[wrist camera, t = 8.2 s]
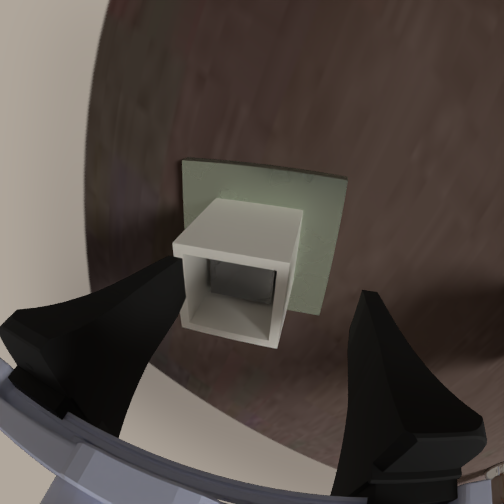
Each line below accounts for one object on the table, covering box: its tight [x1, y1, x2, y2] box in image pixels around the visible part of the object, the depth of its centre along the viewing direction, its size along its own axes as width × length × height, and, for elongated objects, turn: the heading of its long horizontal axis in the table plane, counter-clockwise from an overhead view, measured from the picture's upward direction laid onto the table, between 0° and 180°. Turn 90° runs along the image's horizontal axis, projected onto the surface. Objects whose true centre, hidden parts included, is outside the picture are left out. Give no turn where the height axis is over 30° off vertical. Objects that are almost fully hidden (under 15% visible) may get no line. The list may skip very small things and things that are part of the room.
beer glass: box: [484, 462, 504, 504], centre depth 26 cm, size 7×7×15 cm
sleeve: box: [172, 198, 303, 349], centre depth 17 cm, size 5×5×6 cm
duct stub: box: [182, 157, 348, 315], centre depth 19 cm, size 10×10×4 cm
